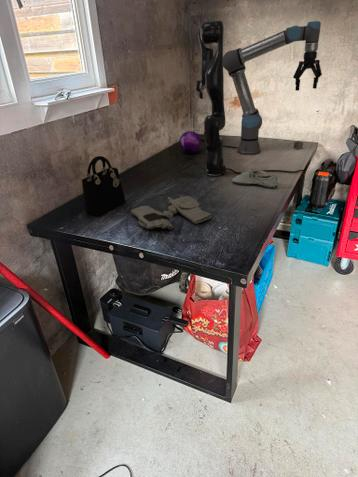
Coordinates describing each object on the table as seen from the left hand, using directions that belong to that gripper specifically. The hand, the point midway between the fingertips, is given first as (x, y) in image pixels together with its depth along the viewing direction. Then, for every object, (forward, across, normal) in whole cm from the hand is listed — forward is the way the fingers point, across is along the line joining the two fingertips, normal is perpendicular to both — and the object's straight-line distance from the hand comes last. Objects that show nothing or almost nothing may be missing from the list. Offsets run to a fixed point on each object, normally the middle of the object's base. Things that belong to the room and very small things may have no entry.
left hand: (207, 98), depth 203 cm
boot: (+38, -19, -34) cm, 54 cm away
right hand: (-1, -64, +13) cm, 65 cm away
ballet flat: (+37, 0, +58) cm, 68 cm away
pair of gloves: (+37, +54, +73) cm, 98 cm away
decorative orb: (+38, +6, -16) cm, 41 cm away
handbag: (+37, +78, +49) cm, 100 cm away
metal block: (+37, -64, +13) cm, 75 cm away
